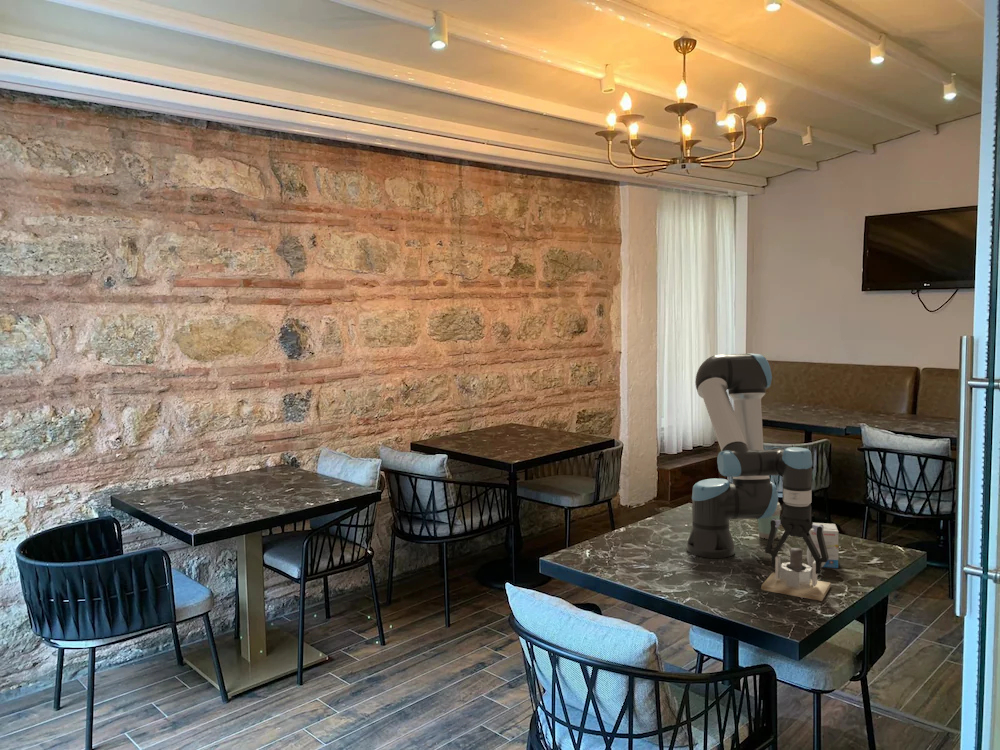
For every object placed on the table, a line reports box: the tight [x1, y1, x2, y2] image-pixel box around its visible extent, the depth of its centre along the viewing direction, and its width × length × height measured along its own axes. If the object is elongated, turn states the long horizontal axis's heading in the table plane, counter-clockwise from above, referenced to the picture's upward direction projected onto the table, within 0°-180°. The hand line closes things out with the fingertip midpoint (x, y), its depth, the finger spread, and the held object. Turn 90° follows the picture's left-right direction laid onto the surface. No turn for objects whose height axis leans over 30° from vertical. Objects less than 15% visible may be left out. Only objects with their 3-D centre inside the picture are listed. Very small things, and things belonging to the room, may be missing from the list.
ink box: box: [806, 522, 840, 569], centre depth 228 cm, size 9×8×12 cm
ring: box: [780, 561, 813, 590], centre depth 208 cm, size 8×8×5 cm
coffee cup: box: [756, 501, 782, 540], centre depth 255 cm, size 8×9×12 cm
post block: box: [760, 547, 832, 602], centre depth 208 cm, size 16×12×11 cm
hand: (796, 581), depth 208 cm, fingers open, 9 cm apart
